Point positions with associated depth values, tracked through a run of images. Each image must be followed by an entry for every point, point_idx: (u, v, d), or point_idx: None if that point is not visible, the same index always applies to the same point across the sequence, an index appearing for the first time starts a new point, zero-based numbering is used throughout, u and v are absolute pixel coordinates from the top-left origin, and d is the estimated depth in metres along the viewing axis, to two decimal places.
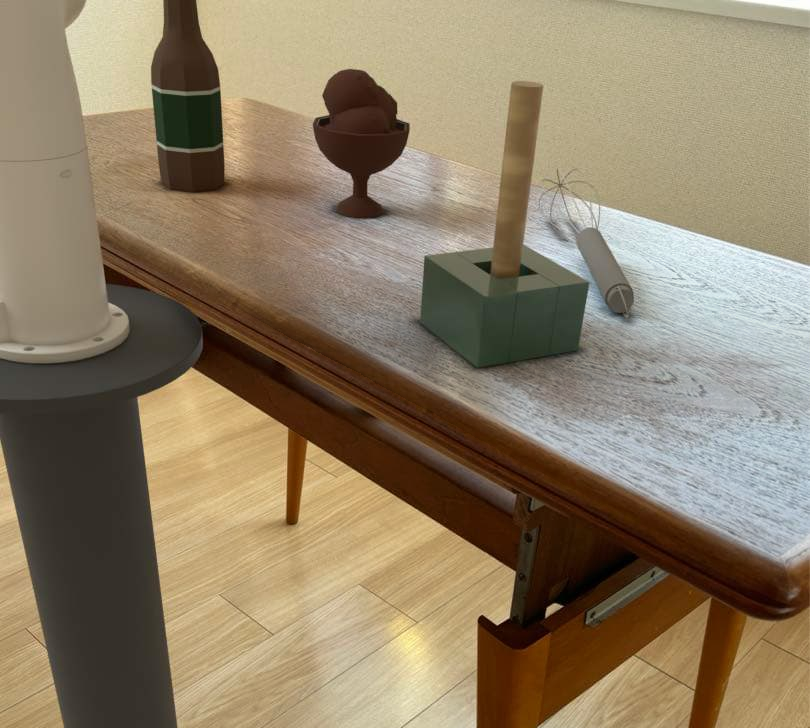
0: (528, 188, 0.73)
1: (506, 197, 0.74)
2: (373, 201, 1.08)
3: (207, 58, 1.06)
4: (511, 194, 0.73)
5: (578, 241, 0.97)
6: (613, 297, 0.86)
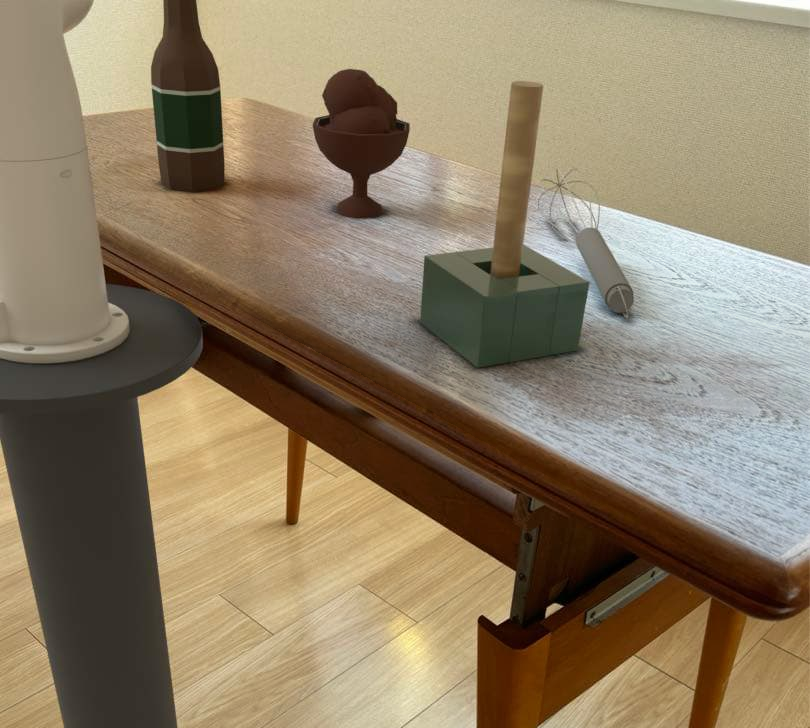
0: (528, 188, 0.73)
1: (506, 197, 0.74)
2: (373, 201, 1.08)
3: (207, 58, 1.06)
4: (511, 194, 0.73)
5: (578, 241, 0.97)
6: (613, 297, 0.86)
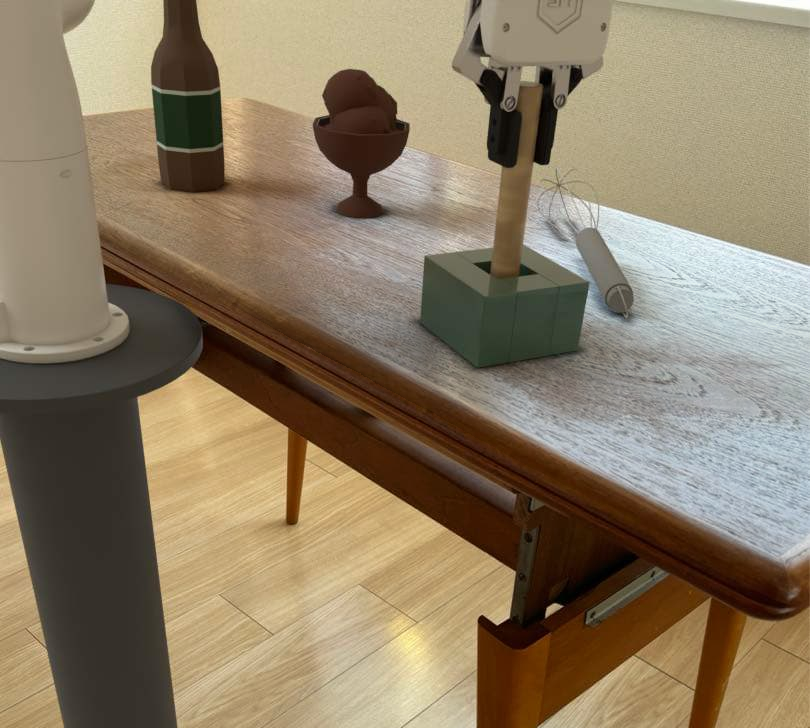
0: (528, 188, 0.73)
1: (505, 197, 0.74)
2: (373, 201, 1.08)
3: (207, 58, 1.06)
4: (510, 194, 0.73)
5: (577, 241, 0.97)
6: (613, 297, 0.86)
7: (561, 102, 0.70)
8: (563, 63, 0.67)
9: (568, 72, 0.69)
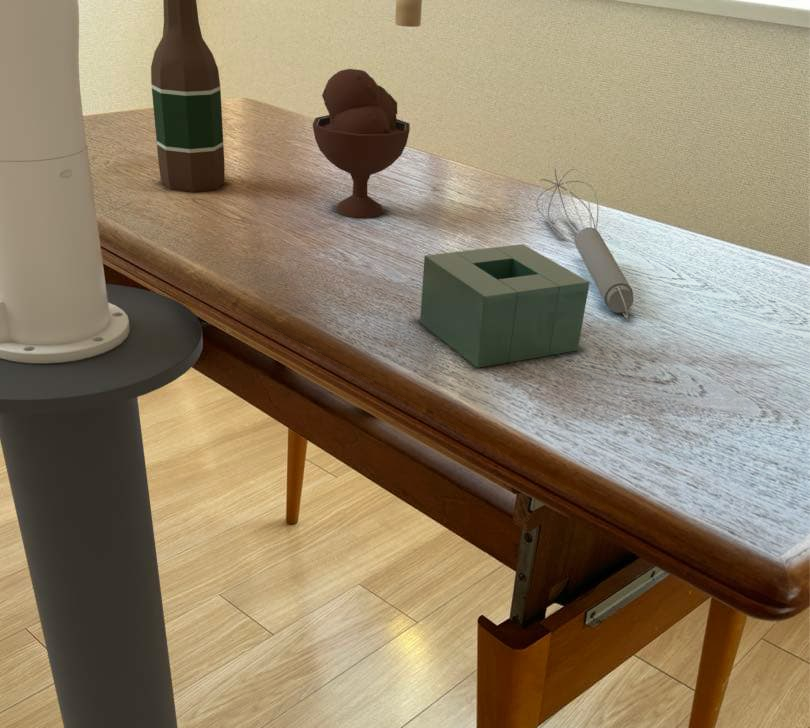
0: None
1: None
2: (373, 201, 1.08)
3: (207, 58, 1.06)
4: None
5: (577, 241, 0.97)
6: (613, 297, 0.86)
7: None
8: None
9: None
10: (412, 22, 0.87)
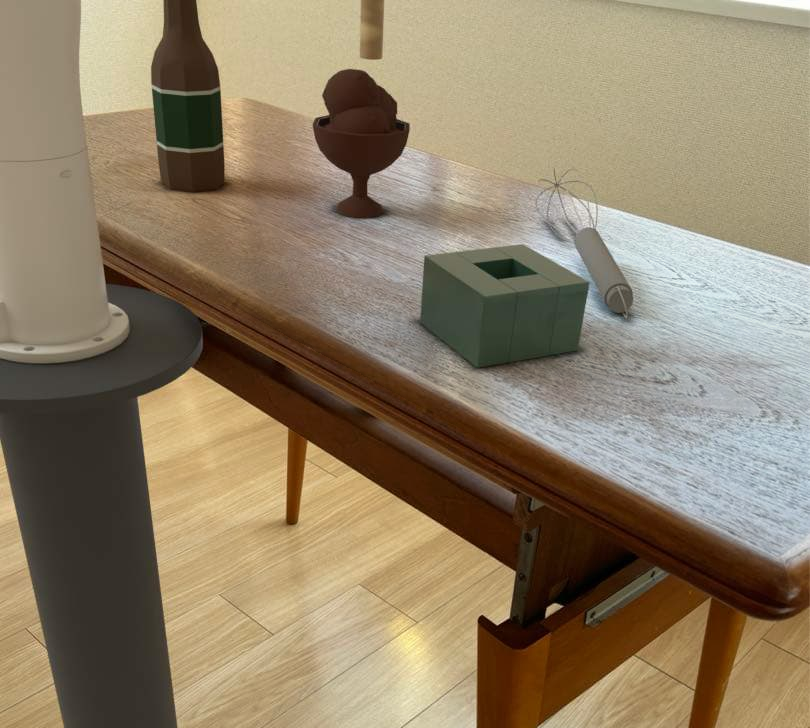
0: None
1: None
2: (373, 201, 1.08)
3: (207, 58, 1.06)
4: None
5: (576, 241, 0.97)
6: (612, 298, 0.86)
7: None
8: None
9: None
10: (375, 55, 0.98)
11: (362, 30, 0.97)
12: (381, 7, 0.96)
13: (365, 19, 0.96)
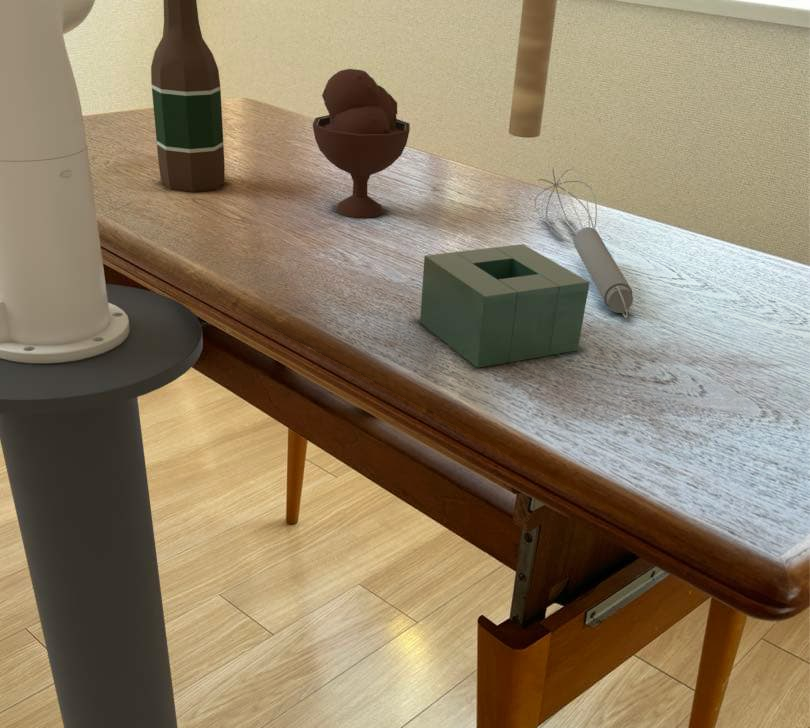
0: None
1: None
2: (373, 201, 1.08)
3: (207, 58, 1.06)
4: None
5: (575, 241, 0.97)
6: (612, 298, 0.86)
7: None
8: None
9: None
10: (532, 132, 0.71)
11: (516, 98, 0.70)
12: (546, 67, 0.68)
13: (522, 83, 0.69)
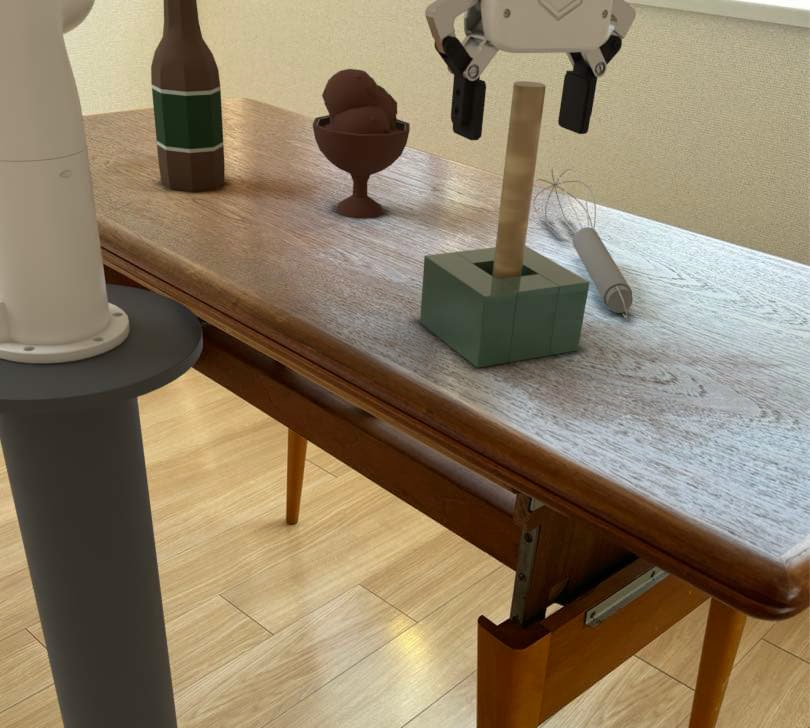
0: (530, 188, 0.73)
1: (508, 197, 0.74)
2: (373, 201, 1.08)
3: (207, 58, 1.06)
4: (513, 195, 0.73)
5: (575, 241, 0.97)
6: (612, 298, 0.86)
7: (601, 70, 0.71)
8: (564, 50, 0.67)
9: None
10: None
11: None
12: None
13: None
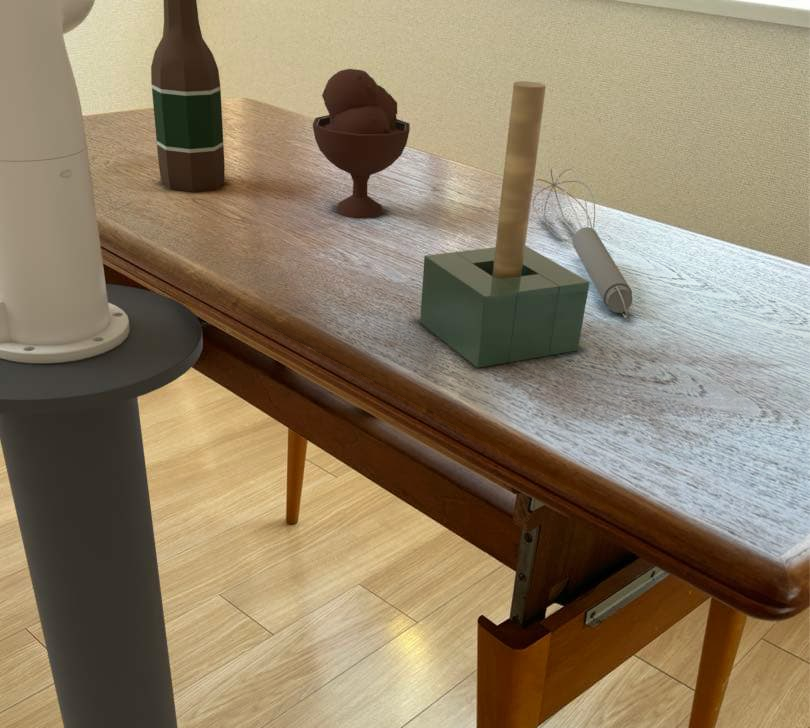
0: (530, 188, 0.73)
1: (508, 197, 0.74)
2: (373, 201, 1.08)
3: (207, 58, 1.06)
4: (513, 195, 0.73)
5: (574, 241, 0.97)
6: (612, 297, 0.86)
7: None
8: None
9: None
10: None
11: None
12: None
13: None
